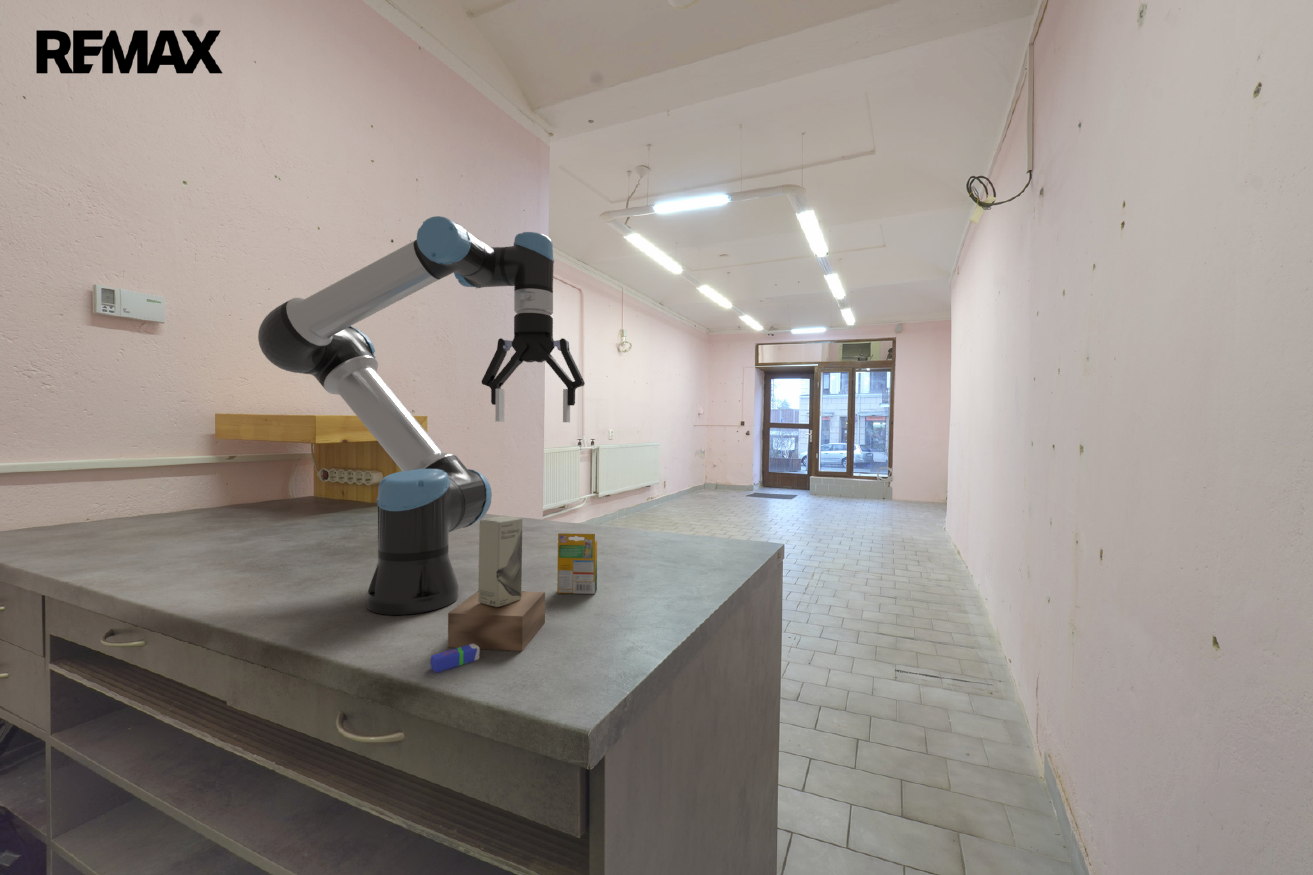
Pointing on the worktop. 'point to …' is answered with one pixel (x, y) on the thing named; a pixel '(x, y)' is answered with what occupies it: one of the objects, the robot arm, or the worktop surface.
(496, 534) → the box
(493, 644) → the block
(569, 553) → the crayon box
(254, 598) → the worktop surface
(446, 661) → the eraser
